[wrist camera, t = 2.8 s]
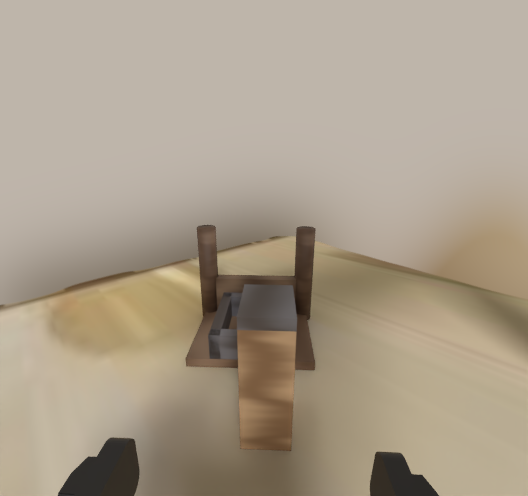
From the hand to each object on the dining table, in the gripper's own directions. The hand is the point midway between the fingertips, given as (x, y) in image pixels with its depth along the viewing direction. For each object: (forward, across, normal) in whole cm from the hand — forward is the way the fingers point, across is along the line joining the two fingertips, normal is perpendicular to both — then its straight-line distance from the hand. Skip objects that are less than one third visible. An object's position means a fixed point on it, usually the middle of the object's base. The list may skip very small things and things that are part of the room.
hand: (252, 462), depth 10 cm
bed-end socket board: (+25, +2, +12) cm, 28 cm away
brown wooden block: (+12, 0, +12) cm, 18 cm away
